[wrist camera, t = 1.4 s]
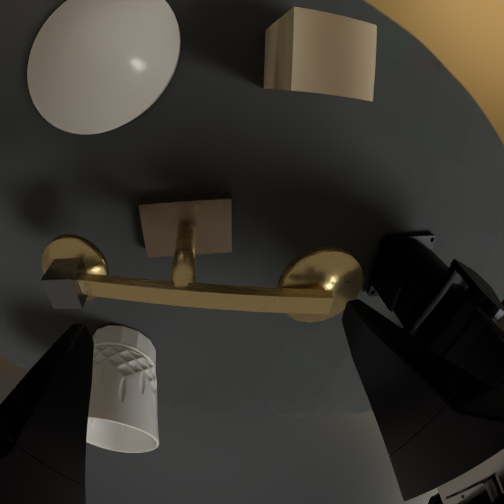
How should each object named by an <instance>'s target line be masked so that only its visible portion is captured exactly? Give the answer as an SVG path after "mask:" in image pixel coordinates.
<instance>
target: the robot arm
mask: <svg viewBox="0 0 504 504" xmlns="http://www.w3.org/2000/svg"><path fill="white" fill-rule="evenodd" d="M388 240H389V241H388ZM435 240H436V236H435V235H434V234H432V233H426V234H403V235H386V236H385V237H384V238H383V239H382V242H381V245H380V249H379V253H378V256H377V259H376V263H375V266H374V269H373V273H372V276H371V279H370V282H369V285H368V288H367V294H368V295H369V296H377V295H379V296H380V297H381V299H382V300H383V302H384V303H385V305H386V306H387V308H388V309H389V310H390V311H391V312H392V311H394V313H395V314H396V316H397V317H398V319H399V320H400V322H401V323H402V325H403V326H404V327H403V329H402V328H401V327H399V326H398V325H396V324H395V323H393V322H392V321H390V320H389V319H387V318H386V317H384V316H383V315H381V314H380V313H378V312H377V311H376V310H374V309H373V308H371V307H370V306H368V305H367V304H365V303H364V302H362V301H361V300H359V299H355V300H349V301H348V302H347V303H346V306H345V310H344V313H343V317H342V323H343V327H344V330H345V334H346V337H347V341H348V344H349V348H350V351H351V355H352V358H353V361H354V364H355V366H356V369H357V371H358V374H359V376H360V379H361V381H362V384H363V386H364V389H365V391H366V394H367V397H368V399H369V402H370V404H371V407H372V410H373V412H374V415H375V417H376V420H377V423H378V426H379V428H380V431H381V434H382V437H383V440H384V443H385V445H386V448H387V451H388V454H389V457H390V460H391V463H392V466H393V469H394V472H395V475H396V478H397V481H398V484H399V487H400V491H401V494H402V497H403V500H404V501H407V500H409V499H412V498H414V497H417V496H419V495H422V494H424V493H426V492H428V491H431V490H433V489H435V488H437V489H438V492H439V493H437V494H436V495H434V496H432V497H431V498H430V500H429V502H428V504H504V318H503V316H504V307H503V305H502V303H501V302H500V300H499V298H498V297H497V295H496V294H495V292H494V291H493V289H492V288H491V286H490V285H489V284H488V283H487V282H486V281H485V280H484V279H483V278H482V277H480V276H479V275H478V274H477V273H476V272H475V271H474V270H472V269H470V268H469V267H467V266H466V265H464V264H462V263H461V262H459V261H457V260H456V259H453V261H452V262H451V266H450V267H449V268H448V267H447V266H446V265H445V264H444V263H443V262H442V261H441V260H440V259H439V258H438V257H437V256H436V255H435V254H434V253H433V252H432V248H433V246H434V243H435ZM387 241H388V242H387ZM386 242H387V243H386ZM93 352H94V341H93V338H92V336H91V335H90V333H89V331H88V329H87V327H86V325H85V324H83V323H75V324H73V325H72V326H71V327H70V328H69V329H68V330H67V331H66V332H65V333H64V334H63V335H62V336H61V337H60V338H59V339H58V340H57V341H56V342H55V343H54V344H53V345H52V347H51V348H50V349H49V350H48V351H47V352H46V353H45V354H44V355H43V356H42V357H41V358H40V360H39V361H38V362H37V363H36V364H35V365H34V366H33V367H32V368H31V370H30V371H29V372H28V373H27V374H26V375H25V377H23V379H22V380H21V381H20V382H19V383H18V384H17V386H16V388H14V389H13V390H12V391H11V393H10V394H9V395H8V396H7V397H6V398H5V400H4V401H3V402H2V403H1V404H0V504H86V497H85V457H86V437H87V424H88V413H89V404H90V395H91V387H92V371H93Z"/></svg>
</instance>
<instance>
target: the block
mask: <svg viewBox="0 0 504 504" xmlns="http://www.w3.org/2000/svg"><path fill="white" fill-rule="evenodd" d="M376 35H377V25H373V24H370V23H367V22H363V21H360V20H356V19H352V18H348V17H344V16H340V15H336V14H331V13H327V12H322V11H317V10H311V9H305V8H299V7H293V8H292V9H291V10H289V11H288V12H287V13H286V14H284V15H283V16H282V17H280V18H279V19H278V20H277V21H276V22H274V23H273V24H272V25H271V26H270V27H268V28H267V29H266V33H265V63H264V89H279V90H292V91H303V92H313V93H322V94H330V95H337V96H344V97H350V98H356V99H362V100H367V101H373V91H374V78H375V61H376Z"/></svg>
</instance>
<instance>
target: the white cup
mask: <svg viewBox="0 0 504 504" xmlns="http://www.w3.org/2000/svg"><path fill="white" fill-rule="evenodd" d="M92 338H93V341H94V352H93V371H92V387H91V395H90V404H89V413H88V424H87V437H86V442H88V443H90V444H93V445H95V446H98V447H101V448H105V449H109V450H113V451H119V452H128V453H141V452H148V451H152V450H154V449H156V448H157V447H158V445H159V437H158V414H157V381H156V373H155V358H156V349H155V348H154V346H153V344H152V342H151V341H150V339H148V338H147V337H146V336H144V335H143V334H142V333H140V332H139V331H136V330H134V329H131V328H128V327H125V326H114V325H108V326H105V327H102V328H100V329H97V330H96V332H95V333H94V335H93V336H92Z"/></svg>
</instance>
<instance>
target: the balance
mask: <svg viewBox="0 0 504 504" xmlns="http://www.w3.org/2000/svg"><path fill="white" fill-rule="evenodd" d="M139 212H140V218H141V224H142V230H143V236H144V242H145V247H146V252H147V258H148V257H164V256H174V261H173V269H172V278H171V281H162V280H150V279H139V278H128V277H117V276H109V270H108V265H107V262H106V259H105V257H104V256H103V254H102V253H101V251H100V250H99V249H98V248H97V247H96V246H95V245H94V244H93V243H92V242H90V241H89V240H87V239H85V238H83V237H80V236H77V235H72V234H65V235H60V236H58V237H56V238H54V239H53V240H52V241H51V242H50V243H49V245H48V246H47V247H46V249H45V250H44V252H43V255H42V269H43V272H44V276H43V278H42V279H41V282H42V284H43V287H44V289H45V291H46V293H47V295H48V298H49V300H50V302H51V304H52V306H53V308H54V309H83V306H84V303H85V301H89V300H92V299H95V298H97V297H98V296H99V297H106V298H114V299H121V300H129V301H138V302H146V303H155V304H165V305H175V306H186V307H197V308H210V309H223V310H238V311H255V312H275V313H286V314H287V315H288V316H289V317H291V318H293V319H295V320H297V321H301V322H317V321H322V320H326V319H328V318H331V317H333V316H335V315H337V314H339V313H340V312H342V311H343V310H344V309H345V306H346V303H347V302H348V301H349V300H354V299H355V298H356V297H357V295H358V293H359V291H360V289H361V287H362V283H363V272H362V269H361V266H360V265H359V263H358V262H357V260H356V259H355V258H354V257H353V255H352V254H351V253H350V252H348V251H347V250H345V249H343V248H339V247H334V246H325V247H319V248H315V249H312V250H309V251H307V252H305V253H303V254H302V255H300V256H298V257H297V258H296V259H294V260H293V261H292V262H291V263H290V264H289V265H288V266H287V267H286V269H285V270H284V272H283V273H282V275H281V277H280V279H279V282H278V288H268V287H249V286H232V285H216V284H201V283H195V255H196V254H212V253H228V252H232V199H231V195H230V193H227V194H207V195H190V196H175V197H162V198H150V199H141V201H140V203H139Z"/></svg>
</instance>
